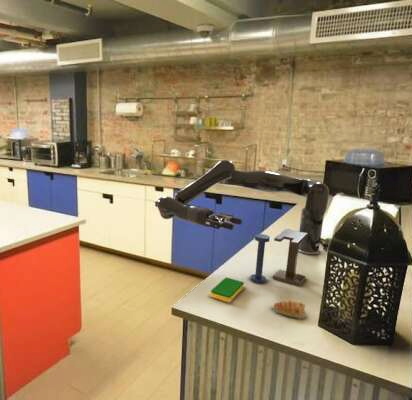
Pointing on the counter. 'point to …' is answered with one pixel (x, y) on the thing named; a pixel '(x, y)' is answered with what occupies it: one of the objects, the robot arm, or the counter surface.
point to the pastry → (290, 309)
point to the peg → (260, 258)
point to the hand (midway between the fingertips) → (237, 224)
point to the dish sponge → (227, 289)
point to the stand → (291, 257)
